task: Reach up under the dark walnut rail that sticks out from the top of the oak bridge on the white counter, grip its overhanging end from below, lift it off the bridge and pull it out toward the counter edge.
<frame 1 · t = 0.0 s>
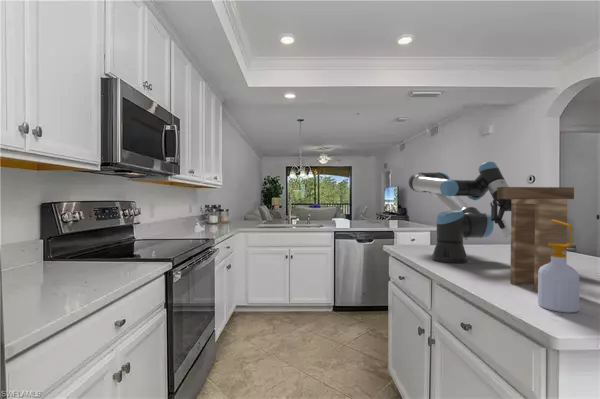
hand: (523, 234, 137), 15 cm above the worktop, tool tilted 35°, fingers open, 13 cm apart
bridge: (536, 287, 116), on the worktop
soap bottle: (557, 308, 95), on the worktop
walnut rail: (535, 199, 116), point 30 cm above the worktop, touching bridge
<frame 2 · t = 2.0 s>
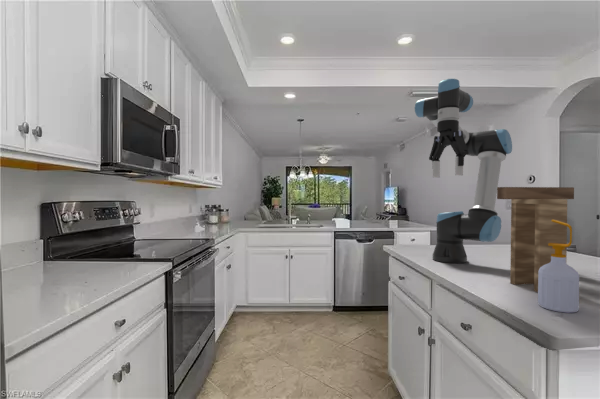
hand: (447, 176, 131), 38 cm above the worktop, tool pointing down, fingers open, 13 cm apart
nothing on the worktop moved.
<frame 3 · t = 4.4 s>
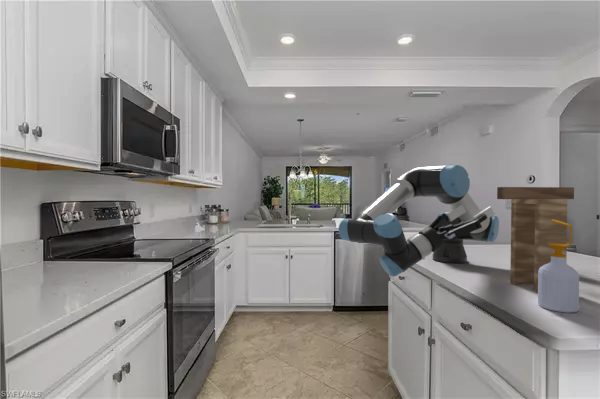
hand: (477, 209, 112), 27 cm above the worktop, tool pointing upward, fingers open, 13 cm apart
nothing on the worktop moved.
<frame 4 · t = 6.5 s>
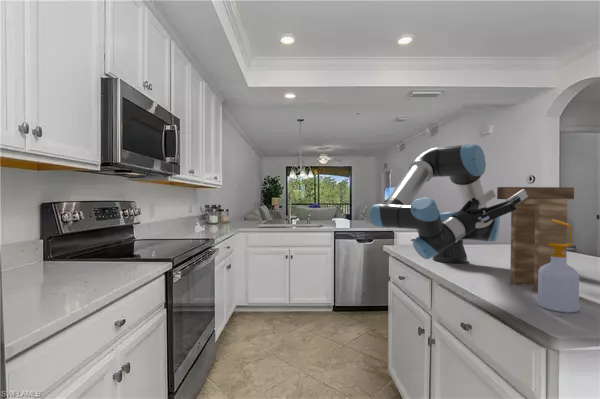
hand: (508, 192, 113), 32 cm above the worktop, tool pointing upward, fingers open, 13 cm apart
nothing on the worktop moved.
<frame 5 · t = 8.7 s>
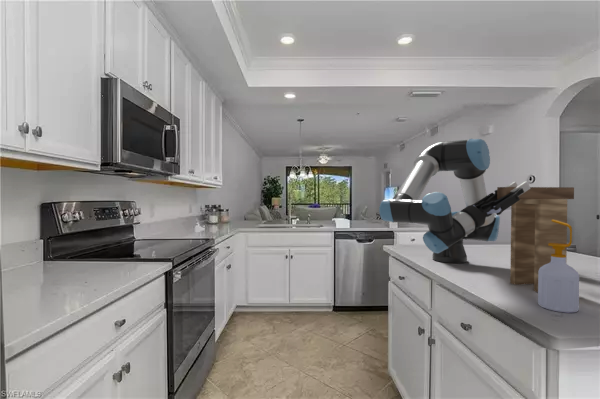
hand: (521, 185, 115), 35 cm above the worktop, tool pointing upward, fingers closed on walnut rail, 4 cm apart
walnut rail: (535, 199, 116), point 30 cm above the worktop, touching bridge, gripper
everything else where it was.
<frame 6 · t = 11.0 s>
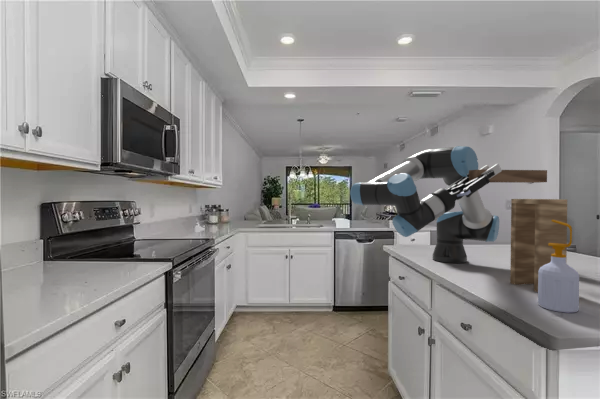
hand: (493, 168, 113), 40 cm above the worktop, tool pointing upward, fingers closed on walnut rail, 4 cm apart
walnut rail: (508, 182, 114), point 36 cm above the worktop, touching gripper
everything else where it was.
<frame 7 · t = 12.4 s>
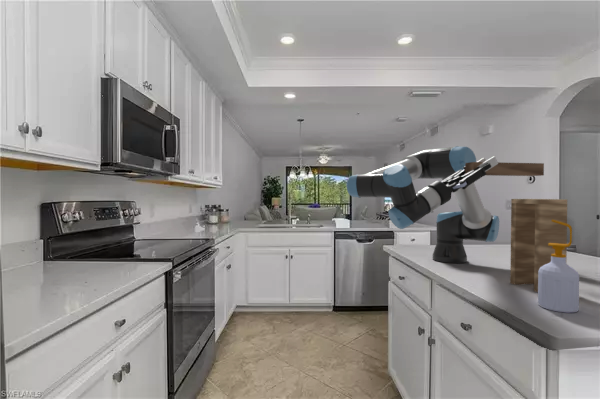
hand: (490, 160, 112), 43 cm above the worktop, tool pointing upward, fingers closed on walnut rail, 4 cm apart
walnut rail: (504, 175, 113), point 38 cm above the worktop, touching gripper
everything else where it was.
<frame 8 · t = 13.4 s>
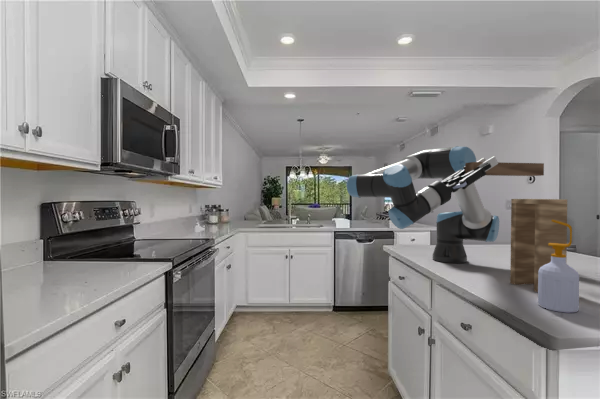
hand: (490, 160, 112), 43 cm above the worktop, tool pointing upward, fingers closed on walnut rail, 4 cm apart
walnut rail: (504, 175, 113), point 38 cm above the worktop, touching gripper
everything else where it was.
at the end: the gripper is holding walnut rail; walnut rail moved 14.4 cm from its start; walnut rail point 37.9 cm above the worktop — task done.
